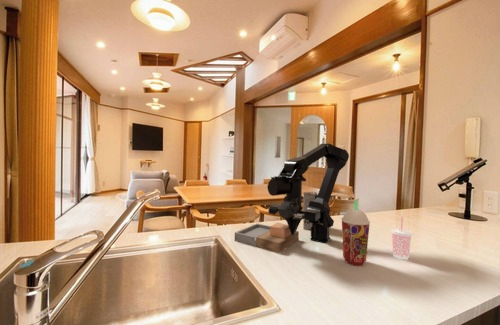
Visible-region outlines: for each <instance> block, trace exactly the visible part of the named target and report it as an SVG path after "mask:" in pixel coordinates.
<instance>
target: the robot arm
mask: <svg viewBox="0 0 500 325" xmlns="http://www.w3.org/2000/svg"><path fill="white" fill-rule="evenodd" d="M321 158H325V163H326V166H327V168H326V171H325V172H324V176H323V179H322V182H321V184H320V186H319V191H318V193H317V195H318V196H317V198H316V199H315V200H314V201H310V202H309V206H308V208H307V211H303V205H302V200H304V195H302V193H303V190H302V189H303V186H302V185H303V182H307V179H306V178H305V176H303V175H304V174H305V173H306V172H307V171H308V170H309V167H310V166H311V165H314V163H315V162H317V161H319V160H320V159H321ZM349 158H350V154H349V152H348V151H347V150H346V149H343V148H341V147H338V146H335V145H334V144H331V143H327V142H326V143H320V144H319V145H318V146H316V147H314V148H313V149H311V150H309V151H308V152H306V153H304V154H303V155H301V156H297V157H294V158H290V159H287V160H286V161H284V165H283V166H282V168H281V170H280V171H279V173H278V175H277V176H276V175H272V176H271V178H270V180H269V181H268V184H267V191H268V194H269V196H282V195H283V196H284V198H283V202H281V203H280V204H276V203H275V204H272V205H269V206H268V214H270V215H276V214H278V215H279V217H281V218H282V219H284V220H285V221H286V223H287V225H288V226H289V229H290V232H291V235H295V232H296V231H298V228H299V225H300V223H301V222H302V221H303V219H304V218H305V219H306V220H309V223H313V224H312V227H311V229H310V241H316V242H320V243H324V244H326V243H328V242H329V241H330V240H331V237H330V228H332V227H333V226H334V223H335V221H334V219H333V218H332V217H331V215H330V214H331V213H330V212H331V208H330V204H329V203H330V199H331V196H332V193H333V191H334V189H335V188H334V187H335V185H336V182H337V179H338V176H339V173H340V171H341V170H342V169H343V168H344V167H346V165H347V162H348V161H349Z"/></svg>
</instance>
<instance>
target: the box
mask: <svg viewBox="0 0 500 325" xmlns="http://www.w3.org/2000/svg"><path fill="white" fill-rule="evenodd" d="M270 226H271V225H268V224H266V225H265V224H263V223H262V224H261V223H255V224H251V225H250V226H247V227H244V228H242V229H240V230H238V231H235V232H234V241H236V242H239V243H243V244H246V245H250V246H253V247H257V246H256V237H258V236H260V235H262V234H264V233H266V232H268V231H270Z"/></svg>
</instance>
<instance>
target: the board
mask: <svg viewBox="0 0 500 325" xmlns="http://www.w3.org/2000/svg"><path fill="white" fill-rule="evenodd" d="M299 232H300V231H298V230H296V232H295V235H289V236H287V237H286V238H280V237H275V236H271V235H270V231H268V232H266V233H264V234H262V235H260V236H258V237H256V246H255V247H257V248H261V249H265V250H268V251H272V252H275V253H279V254H280V253H283V251H285V250H286V249H287V248H289V247H290V246H292V245H293V244H295V243H296V242H298V241H299V239H300V238H299V236H300V233H299Z"/></svg>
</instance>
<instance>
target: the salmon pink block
mask: <svg viewBox="0 0 500 325" xmlns="http://www.w3.org/2000/svg"><path fill="white" fill-rule="evenodd" d="M269 226H270V235H271V236H275V237H280V238H286V237H287V236H289V235H291V232H290V229H289V226H288V223H287V224H286V223H280V222H276V223H274V224H272V225H269Z"/></svg>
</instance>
